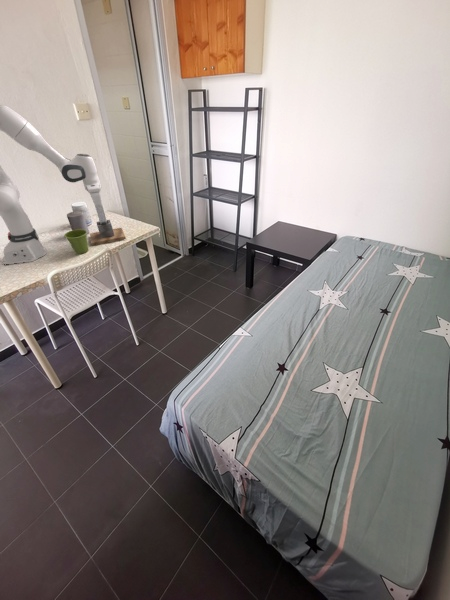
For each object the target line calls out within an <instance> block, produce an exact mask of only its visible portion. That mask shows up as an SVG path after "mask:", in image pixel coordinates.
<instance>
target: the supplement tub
mask: <svg viewBox="0 0 450 600" xmlns="http://www.w3.org/2000/svg"><path fill="white" fill-rule="evenodd" d="M70 206H71V209H72V212H75V211H81V212H83V215H84V218H85V221H86V223H87V227H89V226H91V225H92V223H93V222H92V221H93V220H92V218H91V215H90V212H89V209H88V205H87V203H86V202H85V201H77V202H73V203H72V204H71V205H70Z"/></svg>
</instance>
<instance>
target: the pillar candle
mask: <svg viewBox="0 0 450 600" xmlns="http://www.w3.org/2000/svg"><path fill="white" fill-rule="evenodd" d="M66 218H67V221H68V223H69V225H70V228H71V229H70V230H71V231H72V230H78V229H82V230H86V231H87V235H90V230H89V226H87V223H86V221H85V218H84V215H83V212H81V211H75V212H73V211H70V212H68V213H67V214H66Z"/></svg>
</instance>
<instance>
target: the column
mask: <svg viewBox="0 0 450 600" xmlns="http://www.w3.org/2000/svg"><path fill="white" fill-rule="evenodd" d="M94 207H95V210H96V213H97V218H98V221H100V225H102V224H103V223H106V224H108V223H107V220H108V219H107V217H106V214H105V211H104V208H103V205H102V206H101V210H102V211H98V208H97V206H95V205H94Z"/></svg>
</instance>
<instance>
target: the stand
mask: <svg viewBox="0 0 450 600" xmlns="http://www.w3.org/2000/svg"><path fill="white" fill-rule="evenodd" d="M106 220H107V223H108V224H106V223H103V224H102V225H100V221H99V220H98V221H96V226H97V229H98V231H96V232H89V237H90V243H91V246H92V247H94V246H99V245H105V244H109V243H114V242H120V241H124V239H126V240H127V237H126V235H125V232H124V231H123V228H122V227H117V228H113V226H112V223H111V220H110V219H106Z"/></svg>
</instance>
